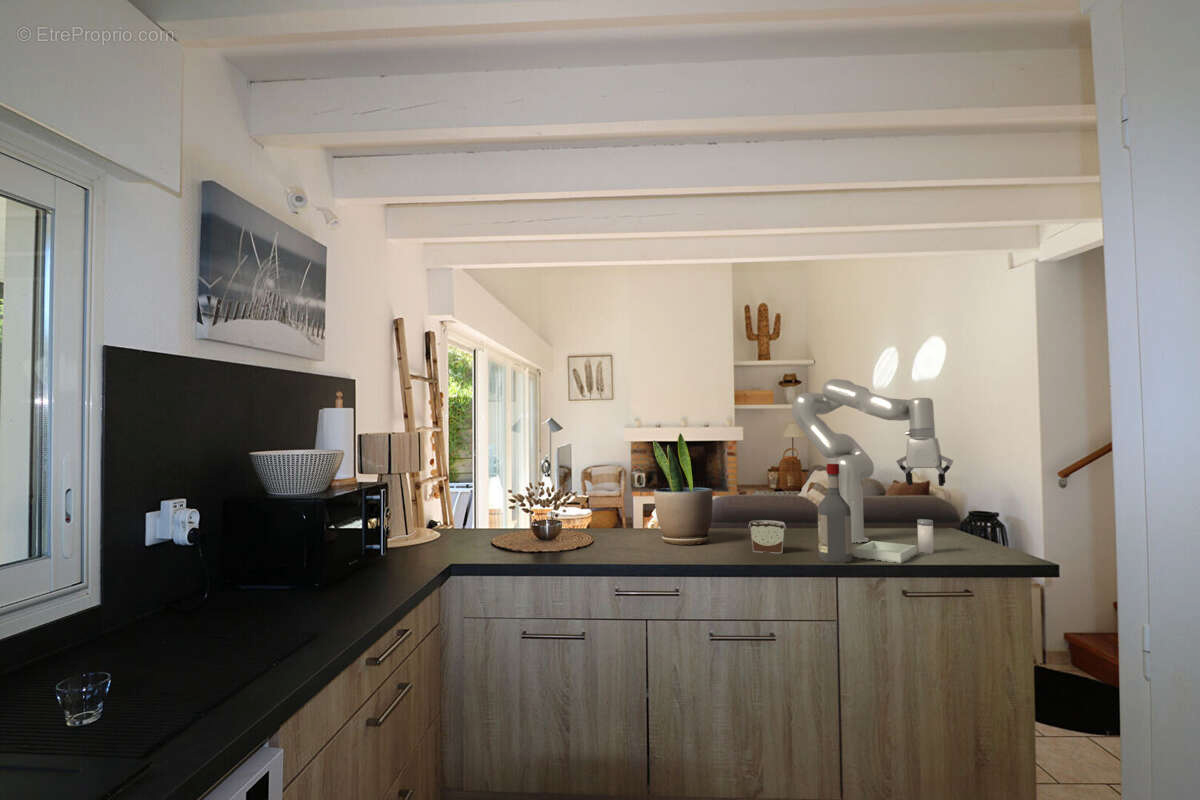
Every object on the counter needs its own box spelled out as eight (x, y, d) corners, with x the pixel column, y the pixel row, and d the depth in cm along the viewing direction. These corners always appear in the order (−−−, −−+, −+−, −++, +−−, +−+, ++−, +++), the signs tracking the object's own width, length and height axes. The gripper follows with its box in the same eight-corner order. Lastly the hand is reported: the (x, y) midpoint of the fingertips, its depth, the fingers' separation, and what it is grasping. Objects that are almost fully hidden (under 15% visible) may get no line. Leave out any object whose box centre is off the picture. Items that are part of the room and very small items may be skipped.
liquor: (848, 558, 199) (845, 463, 201) (853, 563, 190) (850, 464, 192) (818, 556, 201) (816, 463, 203) (821, 562, 192) (819, 464, 194)
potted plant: (645, 538, 237) (644, 433, 239) (696, 535, 243) (695, 433, 246) (668, 548, 217) (667, 432, 219) (723, 544, 223) (722, 432, 226)
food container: (787, 550, 212) (787, 520, 213) (786, 553, 206) (786, 523, 207) (750, 548, 216) (750, 519, 217) (748, 551, 210) (748, 521, 211)
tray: (853, 557, 200) (853, 548, 200) (872, 549, 213) (872, 540, 213) (900, 563, 190) (900, 553, 190) (916, 554, 204) (916, 545, 204)
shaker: (916, 552, 208) (915, 520, 209) (920, 550, 212) (919, 518, 212) (931, 554, 205) (930, 521, 206) (935, 552, 209) (934, 520, 209)
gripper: (891, 435, 214) (894, 485, 213) (947, 433, 203) (951, 486, 201) (899, 435, 220) (901, 484, 218) (954, 433, 208) (957, 485, 207)
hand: (925, 485), depth 210 cm, fingers open, 9 cm apart
